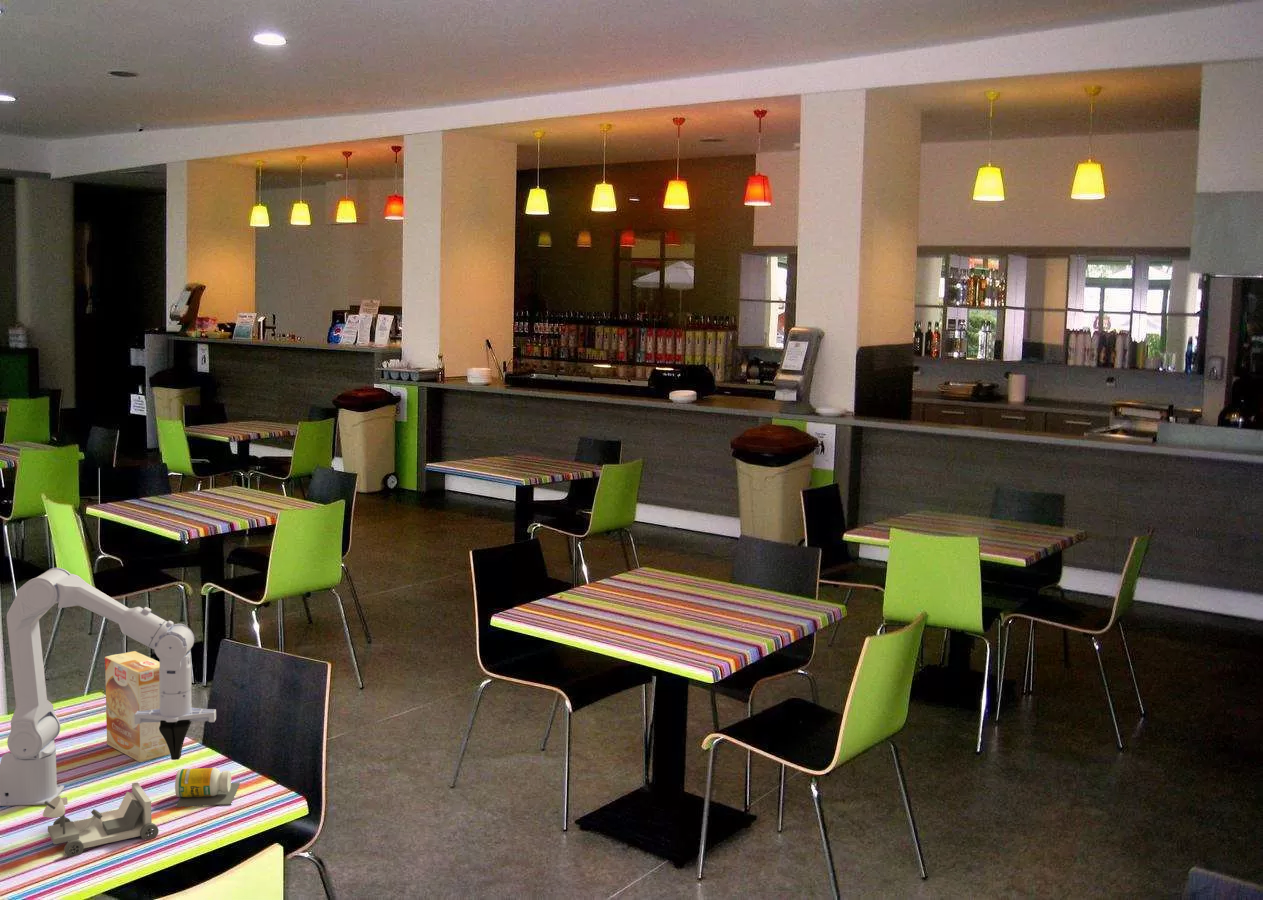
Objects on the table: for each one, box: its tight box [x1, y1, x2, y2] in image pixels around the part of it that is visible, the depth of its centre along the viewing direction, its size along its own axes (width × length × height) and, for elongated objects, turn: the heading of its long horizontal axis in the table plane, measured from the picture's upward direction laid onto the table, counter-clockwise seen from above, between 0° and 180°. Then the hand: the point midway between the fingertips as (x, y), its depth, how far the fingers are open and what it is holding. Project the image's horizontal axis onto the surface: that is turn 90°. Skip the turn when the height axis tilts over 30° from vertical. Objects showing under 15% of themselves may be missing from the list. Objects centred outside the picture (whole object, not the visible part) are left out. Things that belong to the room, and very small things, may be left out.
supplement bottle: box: [174, 767, 232, 798], centre depth 229 cm, size 5×5×10 cm
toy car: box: [42, 782, 160, 858], centre depth 211 cm, size 18×10×12 cm
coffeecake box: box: [104, 650, 170, 763], centre depth 251 cm, size 15×7×20 cm, turn 49°
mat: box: [175, 782, 241, 808], centre depth 230 cm, size 10×10×1 cm
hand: (176, 757), depth 228 cm, fingers closed
